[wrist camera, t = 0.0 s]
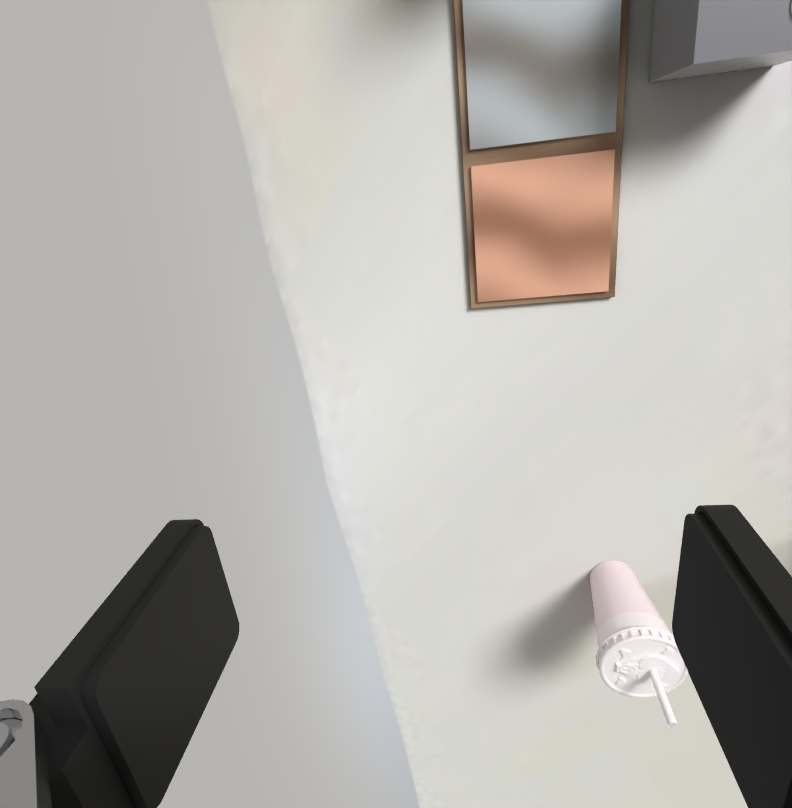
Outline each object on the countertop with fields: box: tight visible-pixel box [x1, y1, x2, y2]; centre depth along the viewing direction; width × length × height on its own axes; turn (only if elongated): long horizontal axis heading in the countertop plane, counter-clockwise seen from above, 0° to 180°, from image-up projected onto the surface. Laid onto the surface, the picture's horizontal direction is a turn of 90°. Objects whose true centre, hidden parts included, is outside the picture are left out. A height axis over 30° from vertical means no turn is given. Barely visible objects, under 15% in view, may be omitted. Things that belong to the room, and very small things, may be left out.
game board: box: [454, 0, 629, 308], centre depth 35 cm, size 20×10×1 cm, turn 6°
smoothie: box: [590, 561, 688, 728], centre depth 42 cm, size 6×6×14 cm
